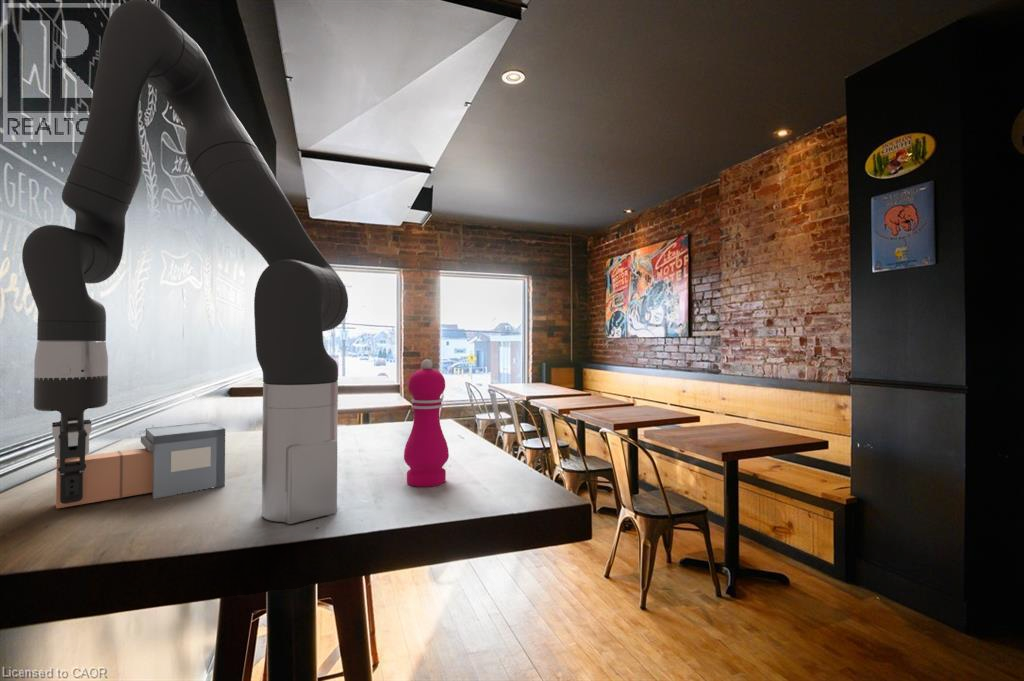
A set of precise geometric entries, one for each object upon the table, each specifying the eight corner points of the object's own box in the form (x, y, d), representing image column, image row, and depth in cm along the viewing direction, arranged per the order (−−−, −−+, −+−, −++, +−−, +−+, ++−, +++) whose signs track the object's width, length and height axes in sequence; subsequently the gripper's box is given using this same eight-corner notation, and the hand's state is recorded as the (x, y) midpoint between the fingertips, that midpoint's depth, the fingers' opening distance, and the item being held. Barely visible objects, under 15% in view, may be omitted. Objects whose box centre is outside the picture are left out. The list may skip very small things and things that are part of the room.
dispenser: (225, 486, 75) (225, 429, 75) (148, 500, 68) (149, 436, 68) (210, 474, 82) (211, 421, 82) (140, 485, 75) (140, 428, 75)
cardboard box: (189, 486, 74) (190, 446, 74) (56, 509, 64) (56, 463, 64) (185, 481, 77) (185, 443, 77) (56, 502, 66) (56, 458, 66)
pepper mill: (424, 491, 73) (425, 360, 73) (394, 482, 77) (395, 359, 77) (457, 480, 79) (458, 359, 79) (427, 473, 83) (428, 358, 83)
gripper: (112, 375, 64) (110, 504, 64) (104, 370, 74) (102, 482, 74) (32, 377, 58) (30, 518, 58) (35, 372, 69) (34, 492, 69)
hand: (71, 497), depth 66 cm, fingers closed on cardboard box, 3 cm apart
